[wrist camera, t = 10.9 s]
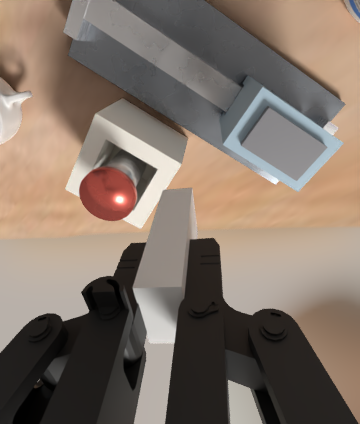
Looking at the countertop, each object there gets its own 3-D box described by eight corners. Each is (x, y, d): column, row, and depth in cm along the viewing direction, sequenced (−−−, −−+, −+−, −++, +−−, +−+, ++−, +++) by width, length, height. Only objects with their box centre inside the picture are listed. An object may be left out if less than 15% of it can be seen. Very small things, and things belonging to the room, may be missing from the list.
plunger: (102, 169, 29) (71, 204, 22) (119, 132, 27) (90, 159, 20) (140, 190, 29) (121, 229, 23) (160, 156, 27) (144, 189, 21)
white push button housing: (94, 162, 33) (63, 192, 26) (122, 98, 29) (95, 113, 22) (153, 195, 35) (139, 231, 28) (188, 138, 30) (181, 164, 24)
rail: (71, 54, 27) (56, 55, 25) (110, -68, 23) (96, -83, 20) (274, 181, 32) (280, 193, 29) (342, 102, 27) (356, 108, 25)
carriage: (219, 119, 28) (222, 147, 20) (247, 75, 25) (264, 87, 17) (275, 155, 29) (299, 195, 21) (307, 116, 27) (347, 145, 19)
